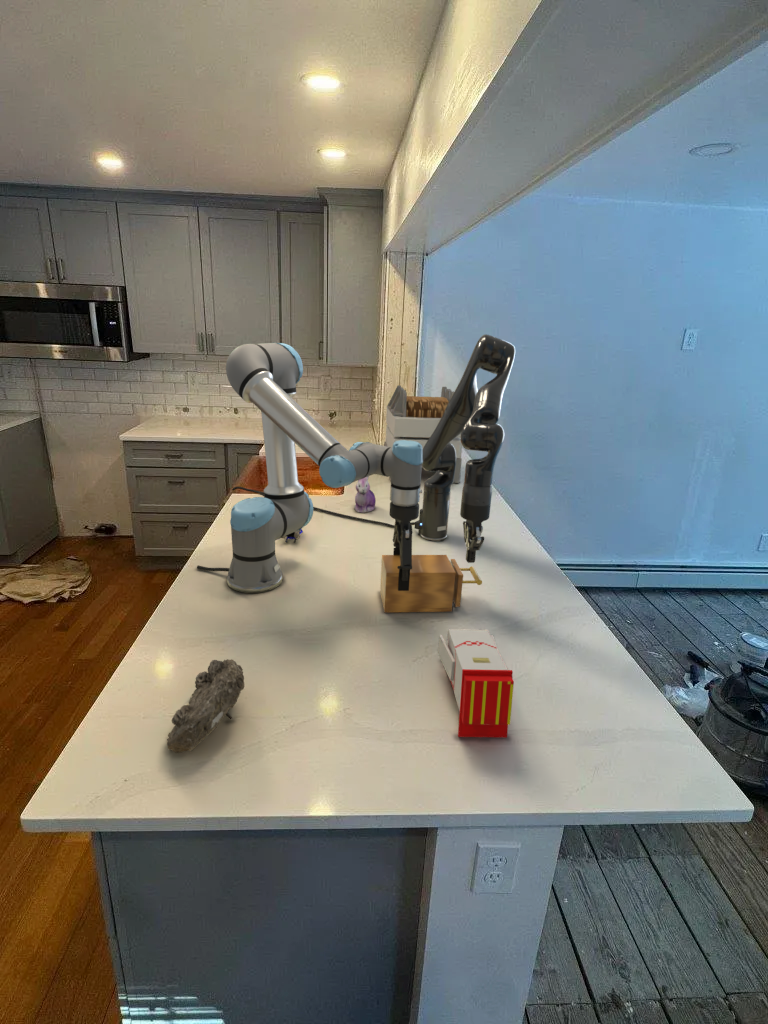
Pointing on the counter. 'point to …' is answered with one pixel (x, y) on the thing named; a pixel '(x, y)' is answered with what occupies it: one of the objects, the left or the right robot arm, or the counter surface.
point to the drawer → (459, 581)
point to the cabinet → (418, 584)
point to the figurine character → (293, 535)
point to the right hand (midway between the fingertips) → (470, 561)
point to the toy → (478, 682)
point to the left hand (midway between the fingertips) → (400, 579)
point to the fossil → (206, 705)
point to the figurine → (364, 496)
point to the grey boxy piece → (418, 420)
